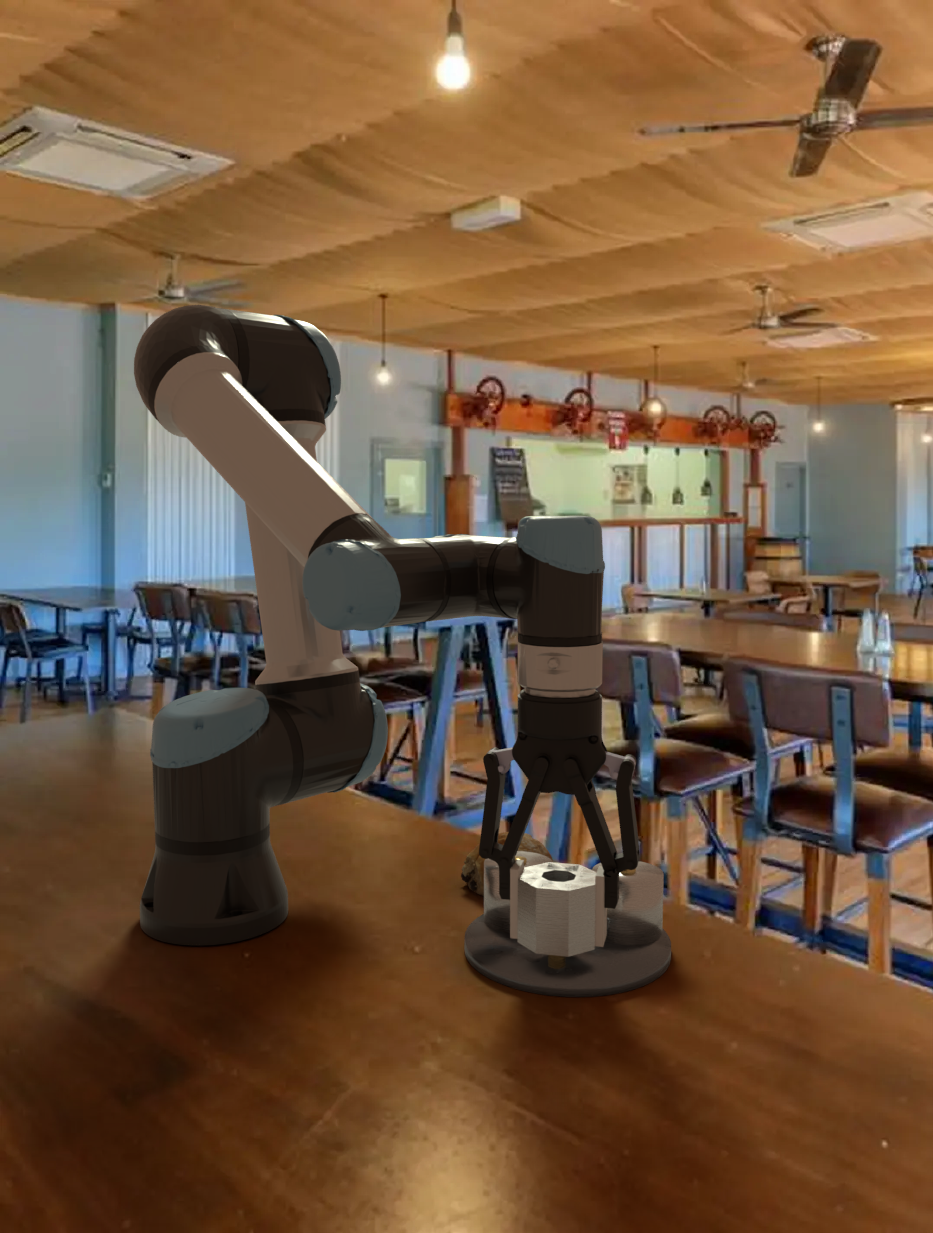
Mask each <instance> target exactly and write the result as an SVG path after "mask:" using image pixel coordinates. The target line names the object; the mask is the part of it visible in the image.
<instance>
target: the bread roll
mask: <svg viewBox="0 0 933 1233" xmlns="http://www.w3.org/2000/svg"><path fill="white" fill-rule="evenodd" d="M508 832H509V831H505V832H504V831H503V832H499V835H498V843H499V844H502V845H504V843H505V840H506V838H507V835H508ZM479 846H480V842H479V843H477V844H476V845H475V846H474V849H472V850H471V851H470V852H469V853H468V854H467V855H466V858H465V860H464V861H463V864H464V865H462V868H461V871H462V872H461V873H460V877H461V880H462V882H465V883H467V886H468V888H469V890H471V892H473V893H475V894H477V895H479V896H482V897H484V861H485V859H484V858H482V857H481V856H480V855H479ZM518 851H525V852H533V853H538V854H541V855H544V856H547V857H548V858H550V859H551V860H552V861H553V862H554V860H553V857H552V855H551V854H550V851H549V849H547V847H546V846H545V845H544V844H543V843H542V842H541V841H539V840H538V839H536V838H533V837H532V835H531V834H529V833H527V832H525V833H524V835H523V838H522V841H521V843H520V846H519V848H518Z"/></svg>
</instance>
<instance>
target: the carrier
mask: <svg viewBox="0 0 933 1233" xmlns="http://www.w3.org/2000/svg"><path fill="white" fill-rule="evenodd" d="M515 860H524V867H529V866H533V865H538V864H543V863H548V862H553V863H554V860H553V859H552V860H553V861H552V860H551V859H550V858H548V857H547V856H544V855H541V854H538V853H533V852H525V851H517V854H516V856H515ZM599 866H602V864H601V862H599V863H597V864H595V865H594V866H593V867H592V868H591V870H592V871H594V872H597V870H598V867H599ZM664 876H665V875H664V871H663V870H662V869H661V868H660V867H659V866H656V865H654V864H652V863H649V862H645V861H640V860H639V862H638V865H637V867H636V869H634V870H625V871H622V872H620V874H619V900H618V903H617V906H616V908H615V909H612V908H607V936H606V939H605V942H604V946H603V947H598V946H595V949H594V950H591V951H588V952H584V953H580V954H576V955H573V956H569V957H566V956H556V955H547V954H537V953H534V952H533V951H531V950H529V949H528V948H526V947H525V946H523V945H521V944H520V943H518V942H517V939H514V938H510V900H506V899H501V897H500V894H499V866H498V864H497V863H496V862H495V861H493V860H491V859H485V861H484V896H483V914H480V915H479V916H477V917H476V918H475V919H474V920H472V921H471V922H470V924H469V925H467V928H466V930H465V933H464V955H465V958H466V959H467V961H468V962H469V964H470V965H471V967H472V968H474V969H475V970H476V971H477V972H478V973H480V974H481V975H483V976H484V977H486V978H487V979H489V980H492V981H493V982H496V983H498V984H499V985H503V986H506V987H508V988H511V989H515V990H518V991H523V992H528V993H532V994H537V995H542V996H543V995H545V996H552V997H563V998H564V997H565V998H590V997H591V998H592V997H602V996H610V995H615V994H622V993H626V992H630V991H633V990H636V989H639V988H641V987H645V986H647V985H648V984H651V983H653V982H655V981H656V980H657V979H659V978H660V977H661V976H663V974H665V973H666V971H667V970H668V968H669V966H670V964H671V961H672V941H671V938H670V936H669V935H668V933H667V932H666V930H665V929H664V928H663V921H664V920H663V917H664V909H663V908H664Z"/></svg>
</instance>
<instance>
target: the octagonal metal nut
mask: <svg viewBox="0 0 933 1233" xmlns="http://www.w3.org/2000/svg"><path fill="white" fill-rule="evenodd" d="M596 873H597V872H594V871H592V869H590V868H588V867H586V866H584V865H582V864H579V863H578V864H577V863H576V864H575V863H562V862H554V861H553V862H548V863H543V864H538V865H533V866H529V867H524V868H523V870H522V872H521V873H520V875H519V877H518V935H517V942H518V943H520V944H521V945H523V946H525V947H526V948H528V949H529V950H531V951H533V952H534V953H537V954H547V955H556V956H566V957H569V956H573V955H576V954H580V953H584V952H588V951H591V950H594V949H595V895H596V884H595V876H596Z"/></svg>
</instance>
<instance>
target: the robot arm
mask: <svg viewBox="0 0 933 1233" xmlns="http://www.w3.org/2000/svg"><path fill="white" fill-rule="evenodd" d="M133 376H134V380H135V381H134V382H135V385H136V389H137V390H138V394H139V396H140V397H141V400H142V402H143V404H144V406H145V407H146V409H147V410H148V411H149V412H150V414H151V415H152V416H153V418H154V419H155V420H156V421H157V422H158V423H159V424H160V425H161V427H162V428H164V429H165V431H166V432H168V433H169V434H171V435H174V436H176V437H180V438H186V439H187V440H188V441H189V442H190V444H192V445H193V446H194V447H195V449H196V450H197V451H198V452H199V453H200V454H201V455H202V456H203V457H204V458H205V459H206V461H207V462H208V463H209V464H210V465H211V466H212V467H213V468H214V470H216V472H217V473H218V474H219V475H220V476H221V477H222V479H223V480H225V482H226V483H227V484H228V485H229V486H230V488H232V490H233V491H234V492H235V493H236V494H237V495H238V496H239V497H240V498H241V499H242V501H243V502H244V505H245V506H244V507H245V512H246V513H245V514H246V519H247V527H248V535H249V543H250V551H251V558H252V566H253V572H254V573H253V574H254V580H255V588H256V594H257V596H256V597H257V602H258V610H259V617H260V626H261V632H262V640H263V647H264V648H263V649H264V657H265V666H264V669H263V670H262V672H261V673H260V674H259V676H258V677H257V678H256V679H255V681H254V682H255V683H254V685H255V688H252V687H251V688H250V687H225V688H222V689H219V690H217V689H208V690H204V691H199V692H196V693H195V692H194V693H191V694H189V695H185V696H182V697H180V698H177V699H174V700H172V701H170V702H168V703H167V704H165V705H163V706H162V707H161V708H160V710H159V711H158V713H157V714H156V715H155V717H154V718H153V721H152V729H151V731H152V732H151V746H150V749H149V750H150V752H149V756H150V760H151V762H152V782H153V783H152V785H153V789H152V790H153V791H152V792H153V812H154V814H153V816H154V819H153V820H154V836H155V837H154V841H155V842H154V843H155V844H154V845H155V847H154V848H155V850H154V854H153V858H152V861H151V865H150V867H149V871H148V873H147V874H148V875H147V878H146V882H145V885H144V887H143V891H142V894H141V897H140V901H139V902H140V903H139V924H140V928H141V930H142V932H144V933H145V934H146V935H147V936H149V937H151V938H152V939H154V940H158V941H160V942H164V943H169V944H174V945H179V946H180V945H182V946H215V945H225V944H231V943H236V942H241V941H245V940H249V939H253V938H255V937H258V936H261V935H263V934H265V933H268V932H270V931H272V930H274V929H275V928H277V927H279V926H280V925H281V924H282V923H283V922H284V921H285V920H286V919H287V917H288V914H289V892H288V887H287V885H286V883H285V879H284V877H283V874H282V870H281V869H280V865H279V863H278V860H277V857H276V855H275V852H274V849H273V846H272V843H271V835H270V834H271V832H270V831H271V830H270V827H271V826H270V825H271V824H270V815H271V814H270V811H271V810H270V809H271V808H273V807H278V806H280V805H281V806H282V805H286V804H289V803H292V802H293V803H294V802H296V801H301V800H303V799H307V798H311V797H315V796H318V795H322V794H326V793H338V792H339V793H340V792H341V791H343V790H345V789H346V788H348V787H351V786H354V785H357V784H360V783H362V782H364V781H365V780H367V779H368V778H369V777H371V776H372V775H373V773H374V772H375V771H376V769H377V767H378V766H379V764H380V763H381V762H382V760H383V758H384V756H385V752H386V748H387V745H388V737H389V736H388V735H389V734H388V733H389V728H388V718H387V713H386V709H385V707H384V705H383V702H382V700H381V699H377V696H378V694H377V693H376V692H375V691H374V689H372V687H370V686H368V685H367V684H364V683H361V680H360V679H361V678H360V672H359V666H356V664H354V663H353V662H351V660H349V659H348V658H347V657H346V656H345V655H344V653H343V647H342V646H343V645H342V638H341V631H360V632H364V631H365V632H366V631H375V630H377V629H383V628H389V627H396V626H402V625H410V624H417V623H425V622H426V623H427V622H428V623H429V622H436V621H444V620H453V619H459V618H460V619H461V618H467V617H487V618H488V617H489V618H501V619H502V618H503V619H508V620H509V619H510V620H516V622H517V683H518V684H519V686H521V687H522V688H523V689H522V690H520V691H519V693H518V694H517V735H516V736H517V737H516V741H515V742H514V744H513V746H512V747H507V748H503V749H499V748H498V747H492V748H490V750H488V751H487V752H486V754H484V756H483V758H482V760H483V761H482V762H483V767H484V771H485V774H486V778H487V780H486V788H485V797H484V806H483V813H482V821H481V830H480V839H479V843H480V846H479V855H480V856H481V857H482V858H484V859H491V860H493V861H495V862H496V863H497V864H498V866H499V894H500V897H501V899H506V900H510V938H514V939H517V935H518V877H519V875H520V873H521V872H522V870H523V868H524V860H515V856H516V854H517V851H518V848H519V846H520V843H521V841H522V838H523V835H524V833H526V829H527V827H528V826H529V822H530V820H531V817H532V816H533V812H534V810H535V808H536V805H537V802H538V800H539V797H540V795H541V794H552V793H561V794H565V795H569V796H571V795H572V796H574V797H575V799H576V802H577V804H578V806H579V808H580V809H581V813H582V815H583V817H584V821H585V824H586V826H587V828H588V831H589V834H590V836H591V840H592V843H593V845H594V848H595V851H596V853H597V855H598V858H599V861H600V862H599V863H601V864H602V866H599V867H598V870H597V873H596V876H595V884H596V895H595V946H598V947H603V946H604V942H605V939H606V936H607V908H612V909H615V908H616V906H617V903H618V900H619V874H620V872H622V871H625V870H634V869H636V867H637V865H638V862H639V861H640V856H641V853H640V852H641V851H640V845H639V844H640V843H639V842H640V840H639V835H638V833H639V832H638V826H637V816H636V815H637V814H636V806H635V798H634V789H633V781H632V780H633V778H634V777H633V776H634V772H635V769H636V765H637V759H636V757H635V756H634V755H633V754H625V755H624V756H623V755H619V754H617V753H613V752H610V751H608V749H607V747H606V745H605V743H604V741H603V736H602V735H603V733H602V731H603V729H602V727H603V695H602V694H601V693H600V692H599V691H598V690H596V689H598V688H599V687H601V685H602V684H603V657H604V656H603V651H604V650H603V649H604V648H603V646H604V643H603V631H602V618H603V617H602V616H603V595H604V579H605V578H604V576H605V574H604V572H605V569H606V563H605V561H604V550H603V549H604V547H603V544H604V543H603V530H602V526H601V524H600V522H599V520H598V519H596V518H595V517H592V516H588V515H530V516H524V517H522V518H521V519H520V520H519V522H518V524H517V533H516V536H512V537H503V536H501V537H500V536H489V535H486V536H485V535H471V534H465V533H459V534H454V533H453V534H444V535H435V536H433V537H424V538H423V537H419V538H418V537H416V538H415V537H414V538H396V537H393V536H392V535H391V534H390V533H389V532H387V530H386V529H385V528H384V527H383V526H381V525H380V523H378V522H377V521H376V520H375V519H374V518H373V517H372V516H371V514H369V513H368V511H366V509H364V508H363V506H361V505H360V503H358V501H356V499H354V498H353V496H352V495H351V494H350V493H349V492H348V491H347V490H346V489H345V488H343V486H342V485H341V484H340V483H339V482H338V481H337V480H336V479H335V478H333V476H332V475H331V474H330V473H329V472H328V471H327V470H326V469H325V468H324V467H323V466H322V465H321V464H320V463H319V462H318V459H317V458H318V457H317V453H316V445H317V443H318V442H319V441H320V439H321V438H322V437H323V436H324V434H325V432H327V426H326V419H327V418H328V417H329V416H330V415H331V414H332V413H333V412H334V410H335V408H336V406H337V404H338V399H337V398H336V396H338V395H340V393H341V387H342V375H341V367H340V363H339V359H338V355H337V353H336V351H335V349H334V345H332V343H331V341H330V340H329V338H328V337H327V335H325V334H324V333H323V332H322V331H321V330H319V329H318V328H317V327H316V326H315V325H313V324H311V323H310V322H306V321H304V320H298V319H294V318H292V317H289V316H285V315H283V314H272V315H271V314H264V313H257V312H249V311H244V310H236V309H228V308H223V307H221V308H220V307H215V306H211V305H205V304H203V305H202V304H190V305H189V304H188V305H184V306H180V307H175V308H173V309H170V310H168V311H165V313H163V314H162V315H160V316H159V317H157V318H156V319H154V321H153V322H152V323H151V324H150V325H148V327H147V328H146V329H145V331H144V332H143V334H142V336H141V337H140V340H139V342H138V343H137V347H136V350H135V354H134V357H133ZM512 761H514V762H515V763H516V764H517V766H518V767H519V769H520V770H521V771H522V773H523V774H524V776H525V777H526V779H527V780H528V781H527V783H526V785H525V788H524V790H523V793H522V795H521V800H520V802H519V805H518V807H517V810H516V812H515V815H514V817H513V819H512V822H511V825H510V828H509V830H508V831H507V832H508V835H507V838H506V840H505V843H504V845H502V844H499V843H498V835H499V833H500V826H501V818H502V809H503V799H504V792H505V791H504V790H505V785H506V773H507V772H508V771H509V770H510V769H511V765H512ZM603 765H604V766H606V767H607V768H608V770H609V776H610V778H611V779H612V780H614V781H616V782H615V794H616V795H615V797H616V806H617V813H618V823H619V830H620V840H621V849H622V852H619V853H618V851H617V847H616V844H615V842H614V840H613V837H612V835H611V832H610V828H609V826H608V824H607V821H606V817H605V816H604V813H603V810H602V807H601V804H600V802H599V799H598V796H597V792H596V788H595V785H594V782H593V778H594V777H595V776H596V774H597V773H598V772H599V770H600V769H601V768H602V767H603Z"/></svg>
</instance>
